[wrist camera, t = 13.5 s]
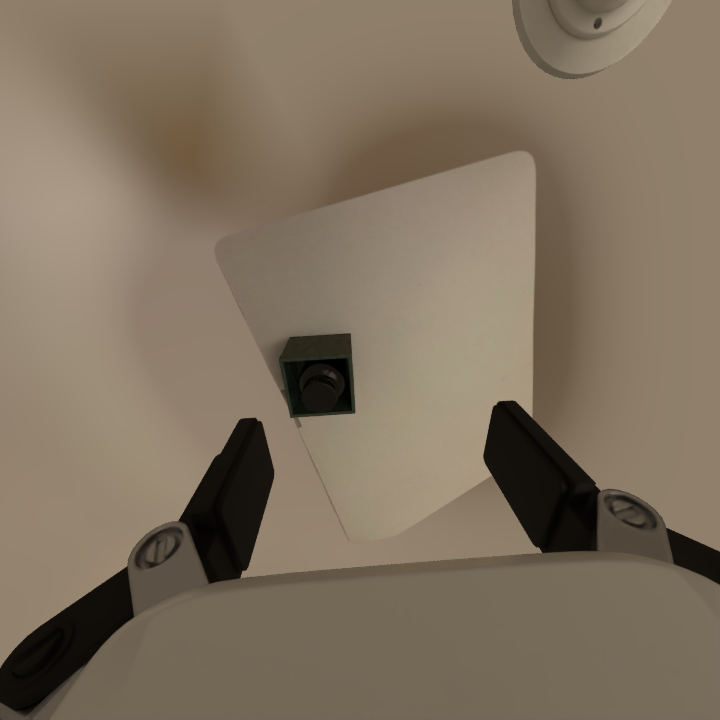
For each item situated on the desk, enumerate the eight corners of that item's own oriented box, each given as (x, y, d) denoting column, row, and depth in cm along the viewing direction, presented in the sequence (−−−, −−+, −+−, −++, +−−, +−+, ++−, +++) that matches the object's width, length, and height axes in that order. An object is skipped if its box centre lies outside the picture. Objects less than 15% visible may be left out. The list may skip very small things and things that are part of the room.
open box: (290, 337, 45) (278, 359, 38) (350, 333, 45) (351, 354, 38) (298, 388, 50) (290, 417, 42) (353, 385, 50) (355, 413, 42)
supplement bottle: (322, 332, 45) (315, 365, 34) (354, 356, 47) (356, 395, 36) (297, 361, 47) (283, 401, 36) (329, 383, 49) (324, 427, 38)
